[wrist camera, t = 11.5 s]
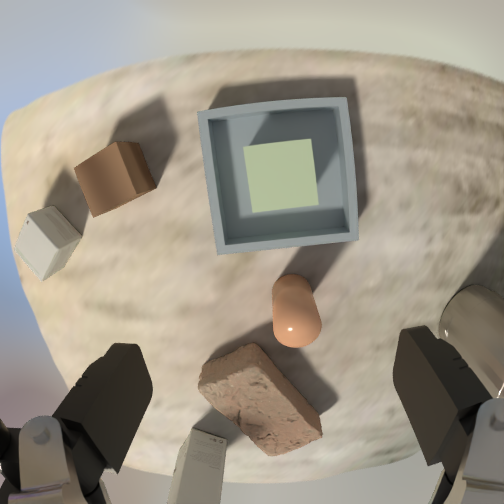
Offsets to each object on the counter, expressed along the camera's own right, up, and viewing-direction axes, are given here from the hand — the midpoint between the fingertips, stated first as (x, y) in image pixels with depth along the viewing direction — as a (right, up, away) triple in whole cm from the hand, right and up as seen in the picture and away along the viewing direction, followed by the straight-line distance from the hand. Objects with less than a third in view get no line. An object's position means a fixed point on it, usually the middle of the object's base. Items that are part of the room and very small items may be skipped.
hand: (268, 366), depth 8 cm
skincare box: (-8, -27, +31) cm, 42 cm away
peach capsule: (+4, -1, +22) cm, 23 cm away
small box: (-23, +5, +22) cm, 32 cm away
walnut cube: (-13, +11, +19) cm, 26 cm away
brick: (+1, -15, +27) cm, 31 cm away
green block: (+2, +10, +18) cm, 21 cm away
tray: (+2, +11, +19) cm, 22 cm away
